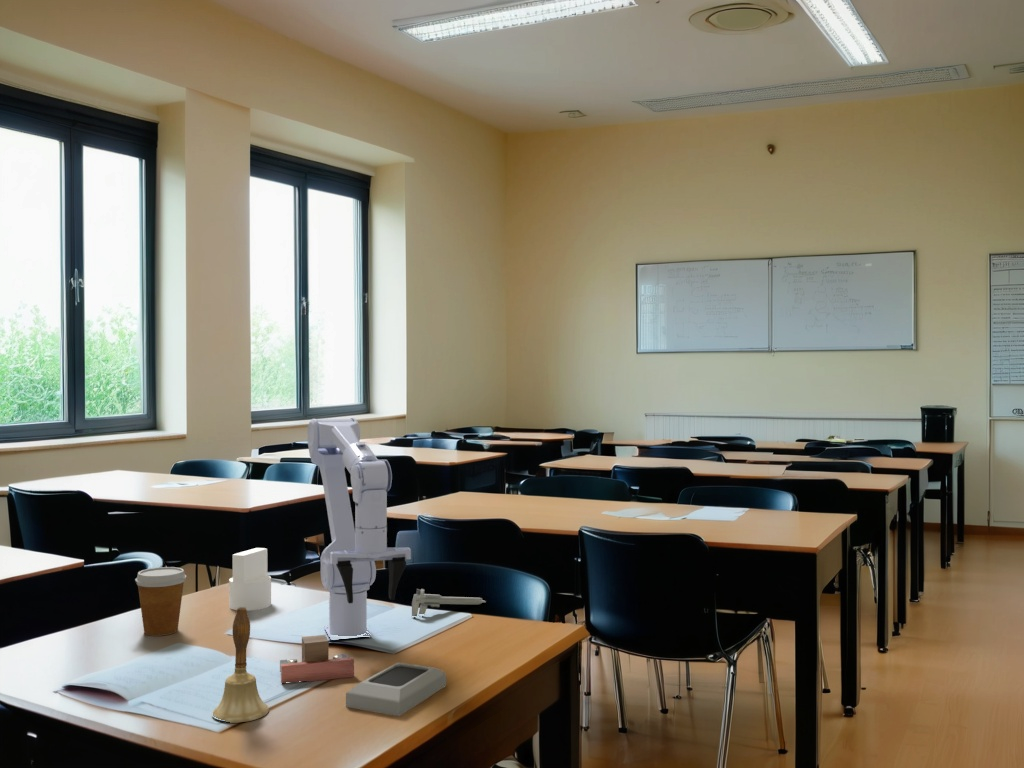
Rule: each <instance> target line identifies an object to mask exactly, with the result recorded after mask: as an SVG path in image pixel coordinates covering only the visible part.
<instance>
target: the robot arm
mask: <svg viewBox="0 0 1024 768" xmlns="http://www.w3.org/2000/svg"><path fill="white" fill-rule="evenodd" d="M306 431H307V432H306V433H307V441H306V442H307V446H308V452H309V457H310V461H311V463H312V464H314V465H316V466H317V467H318V468H319V471H320V476H321V481H322V486H323V493H324V494H323V495H324V499H325V505H326V511H327V519H328V526H329V531H330V532H329V533H330V538H331V543H329V544H328V546H326V547H325V548H324V549H323V551H322V552H321V555H320V558H319V559H320V561H319V562H320V579H321V581H320V582H321V584H322V586H323V588H325V589H326V591H329V600H328V603H329V605H328V607H329V608H328V610H329V611H328V615H329V616H328V617H329V618H328V620H329V622H328V625H325V626H324V627H323V628H325V629H324V631H325V630H326V631H325V633H326V632H327V633H326V635H327V634H328V635H329V636H331V635H338V636H357V635H361V634H364V633H366V634H367V635H366V634H365V635H363V636H371V637H372V633H371V632H370V631H369V629H368V627H367V623H368V622H367V621H368V619H367V617H368V616H367V615H368V613H367V611H368V609H367V608H368V607H367V605H368V604H367V603H368V602H367V600H368V598H367V597H368V593H367V591H369V590H370V586H372V585H373V583H374V582H375V580H376V576H377V575H376V574H377V568H376V567H377V566H376V561H377V562H378V561H387V563H388V564H387V565H388V599H389V600H390V601H395V599H396V598H395V597H396V593H397V592H396V591H397V590H398V589H397V588H398V585H399V582H400V580H401V577H402V575H403V573H404V571H405V569H406V567H407V561H408V560H411V559H412V549H411V548H410V547H388V544H387V543H388V537H387V534H388V533H387V532H388V522H387V521H388V520H387V519H388V518H387V517H388V516H387V515H388V514H387V513H388V511H387V510H388V509H387V506H388V503H387V502H388V500H387V499H388V498H387V496H388V492H389V491H390V489H392V488H391V487H392V480H393V473H392V468H391V465H390V462H389V461H388V459H378V458H377V456H376V454H375V453H374V452H373V450H372V449H371V448H370V446H369V445H367V444H366V443H365V442H364V441H360V440H361V427H360V423H359V421H358V420H357V419H356V418H355V417H351V418H325V419H324V418H323V419H316V418H311V420H310V421H309V423H308V424H307V430H306ZM345 468H346V469H347V471H348V473H349V474H350V484H351V488H352V490H351V491H352V500H353V502H354V504H355V512H354V514H355V515H354V516H355V518H354V517H353V512H352V507H351V506H352V505H351V500H350V494H349V490H348V489H349V488H348V483H347V476H346V471H345V470H346V469H345ZM354 519H355V521H354ZM406 560H407V561H406ZM367 629H368V630H367ZM366 631H368V632H369V633H370V634H371V635H370V634H369V633H367V632H366ZM368 634H369V635H368ZM328 635H327V636H328Z"/></svg>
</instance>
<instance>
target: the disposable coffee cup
mask: <svg viewBox="0 0 1024 768" xmlns="http://www.w3.org/2000/svg"><path fill="white" fill-rule="evenodd" d="M186 578H187V575H186V574H185V570H184V569H183V568H181V567H175V566H164V567H163V566H161V567H151V568H147V569H142V570H139V571H138V572H137V576H136V578H135V579H134V581H135V583H136V585H137V588H138V594H139V595H138V596H139V597H138V598H139V605H140V610H141V611H140V612H141V619H142V624H143V634H145V635H148V636H151V637H152V636H154V637H155V636H166V635H167V636H168V635H171V634H174V633H177V632H178V630H179V622H180V617H181V616H180V614H181V606H182V598H183V590H184V583H185V581H186Z"/></svg>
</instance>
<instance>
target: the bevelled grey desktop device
mask: <svg viewBox="0 0 1024 768" xmlns="http://www.w3.org/2000/svg"><path fill="white" fill-rule="evenodd" d="M444 686H445V687H446V686H447V674H446V672H444V671H443V670H442V669H439V668H437V667H432V666H425V665H420V664H412V663H408V662H407V663H406V662H399V661H398V662H396V663H394V664H392V665H390V666H388V667H386V668H384V669H383V670H380V671H379V672H377V673H376V674H374V675H371V676H370V677H368V678H366V679H364V680H362V681H360V682H359V683H358V684H356V685H355V686H353V687H352V688H350V689H349V690H348V691H346V693H345V707H346V708H349V709H357V710H362V711H367V712H373V713H379V714H382V715H383V714H385V715H389V716H390V715H391V716H395V717H401V716H402V715H404V714H405V713H407V712H408V711H410V710H411V709H413V708H414V707H416V706H417V705H419V704H420V703H422V702H425V700H427V699H428V698H430V697H431V696H433V695H434V694H436V693H437V692H439V691H440V690H442V689H444V688H445V687H444ZM443 687H444V688H443Z"/></svg>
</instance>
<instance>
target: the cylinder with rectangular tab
mask: <svg viewBox="0 0 1024 768" xmlns="http://www.w3.org/2000/svg"><path fill="white" fill-rule="evenodd" d="M228 587H229V589H228V590H229V591H228V594H229V595H228V596H229V598H228V599H229V600H228V602H229V603H228V604H229V605H228V607H229V609H231V610H235V611H237V609H238V608H240V607H245V608H246V611H247V612H248V611H259V610H263V609H267V608H269V607H271V605H272V577H271V575H268V548H265V547H255V548H251V549H248V550H244V551H240V552H236V553H234V554H232V577H230V578H229V579H228Z"/></svg>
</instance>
